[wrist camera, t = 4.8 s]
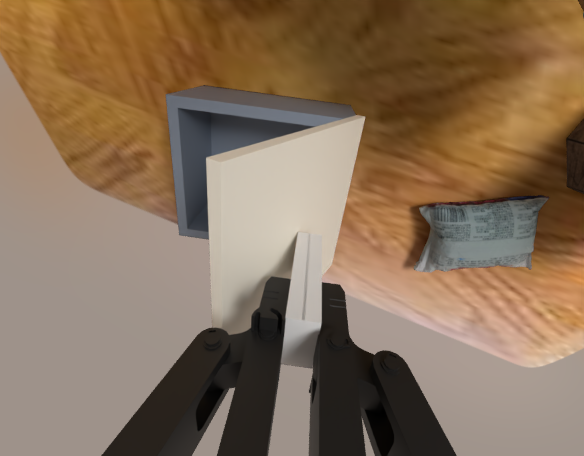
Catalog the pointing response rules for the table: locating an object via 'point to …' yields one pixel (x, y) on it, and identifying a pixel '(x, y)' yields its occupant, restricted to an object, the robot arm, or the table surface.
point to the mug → (576, 159)
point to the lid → (274, 211)
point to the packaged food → (480, 233)
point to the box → (228, 136)
